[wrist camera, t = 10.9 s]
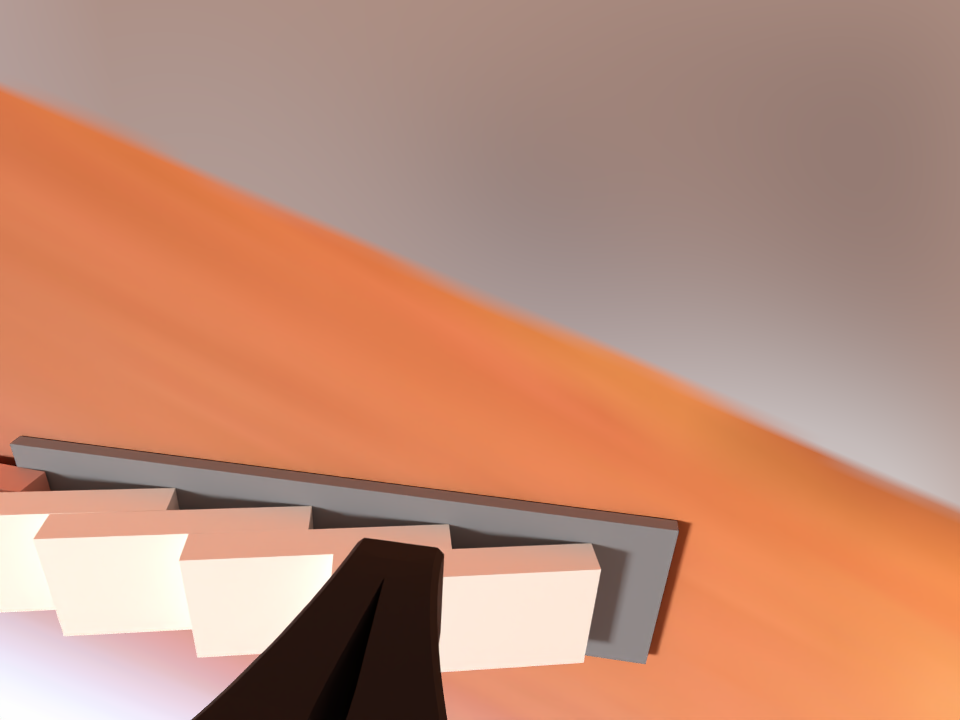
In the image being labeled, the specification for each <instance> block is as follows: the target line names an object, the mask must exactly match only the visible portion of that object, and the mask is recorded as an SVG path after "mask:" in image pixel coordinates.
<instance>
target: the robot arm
mask: <svg viewBox="0 0 960 720" xmlns="http://www.w3.org/2000/svg"><path fill="white" fill-rule="evenodd" d="M443 571H444V553H443V552H442V551H441V550H440V549H439V548H437V547H430V546H423V545H415V544H408V543H401V542H393V541H386V540H379V539H371V538H363V539H362V540H360V541H359V542H357V544H356V545H355V546H354V548H353V549H352V550H351V552H350V553H349V554H348V556H347V557H346V558H345V560H344V561H343V562H342V563H341V565H340V566H339V567H338V568H337V570H336V571H335V572H334V573H333V575H332V576H331V577H330V578H329V579H328V581H327V582H326V583H325V584H324V585H323V587H322V588H321V589H320V590H319V591H318V593H317V594H316V595H315V596H314V597H313V598H312V600H311V601H310V602H309V603H308V604H307V605H306V606H305V607H304V608H303V610H302V611H301V612H300V613H299V614H298V615H297V616H296V617H295V618H294V620H293V621H292V622H291V623H290V624H289V625H288V626H287V627H286V628H285V630H284V631H283V632H282V633H281V634H280V635H279V636H278V637H277V638H276V639H275V640H274V641H273V642H272V643H271V644H270V645H269V646H268V647H267V648H266V649H265V650H264V651H263V652H262V653H261V654H260V655H259V656H258V657H257V658H256V659H255V660H254V661H253V662H252V663H251V664H250V665H249V666H248V667H247V668H246V669H245V670H244V671H243V672H242V673H241V674H240V675H239V676H238V677H237V678H236V679H235V680H234V681H233V682H232V683H231V684H230V685H229V686H228V687H227V688H226V689H225V690H224V691H223V692H222V693H221V694H220V695H218V696H217V697H216V698H215V699H214V700H213V701H212V702H211V703H210V704H209V705H208V706H206V707H205V708H204V709H203V710H202V711H201V712H200V713H199V714H197V715H196V716H195V717H194V718H193V719H192V720H447V715H446V708H445V701H444V694H443V686H442V678H441V668H440V655H439V640H440V634H441V614H442V593H443Z"/></svg>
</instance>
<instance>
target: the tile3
mask: <svg viewBox="0 0 960 720" xmlns="http://www.w3.org/2000/svg"><path fill="white" fill-rule="evenodd" d="M308 529H313V517H312V506H292V507H260V508H228V509H195V510H163V511H130V512H98V513H66V514H49V515H48V517H47V518H46V520H45V521H44V523H43V525H42V526H41V528H40V529H39V531H38V532H37V534H36V535H35V537H34V538H33V541H34V544H35V547H36V550H37V553H38V556H39V560H40V563H41V566H42V569H43V572H44V575H45V578H46V582H47V585H48V588H49V591H50V594H51V597H52V600H53V603H54V607H55V610H56V613H57V616H58V619H59V622H60V625H61V628H62V632H63V635H64V636H76V635H95V634H114V633H133V632H152V631H170V630H189V629H192V626H191V621H190V616H189V611H188V606H187V601H186V596H185V590H184V585H183V580H182V575H181V570H180V565H179V559H180V556H181V553H182V550H183V548H184V545H185V542H186V539H187V537H188V534H202V533H229V532H255V531H282V530H308Z"/></svg>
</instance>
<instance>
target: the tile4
mask: <svg viewBox="0 0 960 720" xmlns="http://www.w3.org/2000/svg"><path fill="white" fill-rule="evenodd" d="M163 510H179V505H178V499H177V494H176V488H153V489H113V490H74V491H34V492H0V612H18V611H39V610H55V607H54V603H53V600H52V597H51V594H50V591H49V588H48V585H47V582H46V578H45V575H44V572H43V569H42V566H41V563H40V560H39V556H38V553H37V550H36V547H35V544H34V541H33V538H34V537H35V535H36V534H37V532H38V531H39V529H40V528H41V526H42V525H43V523H44V521H45V520H46V518H47V517H48V515H49V514H66V513H98V512H130V511H163Z"/></svg>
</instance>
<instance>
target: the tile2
mask: <svg viewBox="0 0 960 720" xmlns="http://www.w3.org/2000/svg"><path fill="white" fill-rule="evenodd" d="M363 538H371V539H379V540H386V541H393V542H401V543H408V544H415V545H423V546H430V547H437V548H439V549H440V550H444V549H452V545H451V537H450V529H449V524H441V525H415V526H388V527H362V528H335V529H308V530H282V531H255V532H229V533H202V534H188V537H187V539H186V542H185V545H184V548H183V550H182V553H181V556H180V559H179V565H180V570H181V575H182V580H183V585H184V590H185V596H186V601H187V606H188V611H189V616H190V621H191V626H192V632H193V637H194V642H195V647H196V652H197V657H198V658H199V657H215V656H232V655H248V654H261V653H262V652H263V651H264V650H265V649H266V648H267V647H268V646H269V645H270V644H271V643H272V642H273V641H274V640H275V639H276V638H277V637H278V636H279V635H280V634H281V633H282V632H283V631H284V630H285V628H286V627H287V626H288V625H289V624H290V623H291V622H292V621H293V620H294V618H295V617H296V616H297V615H298V614H299V613H300V612H301V611H302V610H303V608H304V607H305V606H306V605H307V604H308V603H309V602H310V601H311V600H312V598H313V597H314V596H315V595H316V594H317V593H318V591H319V590H320V589H321V588H322V587H323V585H324V584H325V583H326V582H327V581H328V579H329V578H330V577H331V573H332V562H333V554H349V553H350V552H351V550H352V549H353V548H354V546H355V545H356V544H357V542H359V541H360V540H362V539H363Z"/></svg>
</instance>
